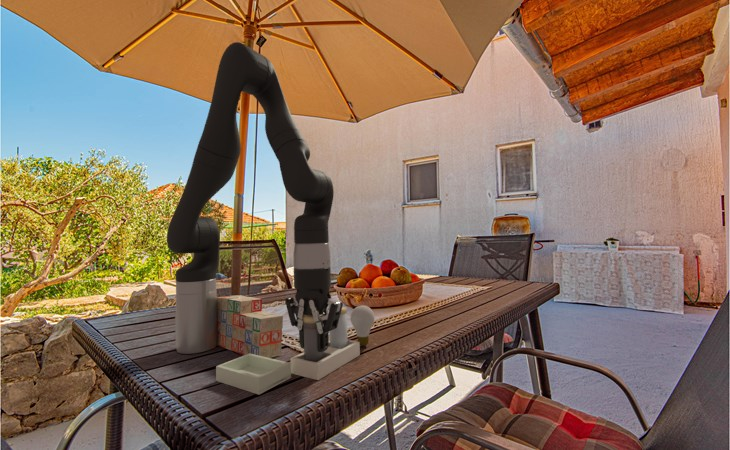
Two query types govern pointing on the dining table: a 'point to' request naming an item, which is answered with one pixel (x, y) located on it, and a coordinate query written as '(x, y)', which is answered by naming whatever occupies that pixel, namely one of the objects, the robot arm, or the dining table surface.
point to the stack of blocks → (248, 327)
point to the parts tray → (253, 373)
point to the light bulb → (362, 323)
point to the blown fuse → (311, 340)
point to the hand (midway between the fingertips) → (314, 348)
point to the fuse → (340, 332)
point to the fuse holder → (325, 361)
